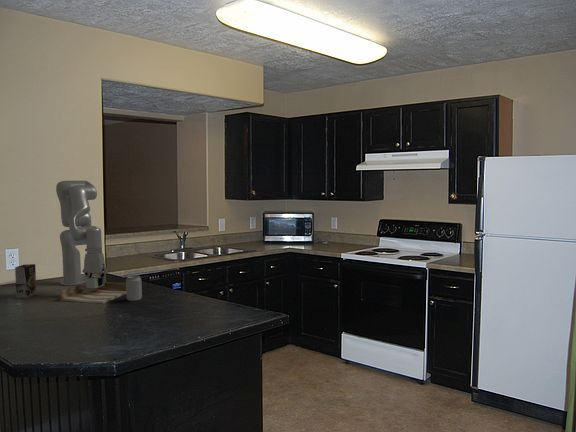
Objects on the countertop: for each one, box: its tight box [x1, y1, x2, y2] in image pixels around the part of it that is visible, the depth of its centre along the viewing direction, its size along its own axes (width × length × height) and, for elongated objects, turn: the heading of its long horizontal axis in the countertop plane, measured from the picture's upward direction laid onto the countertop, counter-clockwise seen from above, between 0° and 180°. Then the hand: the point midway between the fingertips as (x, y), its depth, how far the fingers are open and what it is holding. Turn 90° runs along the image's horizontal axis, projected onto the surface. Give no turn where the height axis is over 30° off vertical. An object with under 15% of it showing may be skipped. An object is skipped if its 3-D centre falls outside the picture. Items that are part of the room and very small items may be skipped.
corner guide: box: [59, 281, 126, 304], centre depth 264 cm, size 24×24×5 cm
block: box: [85, 274, 106, 289], centre depth 269 cm, size 5×9×5 cm, turn 167°
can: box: [125, 275, 143, 302], centre depth 256 cm, size 8×8×12 cm
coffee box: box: [14, 263, 38, 299], centre depth 266 cm, size 9×6×16 cm
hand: (95, 284), depth 269 cm, fingers closed on block, 5 cm apart
